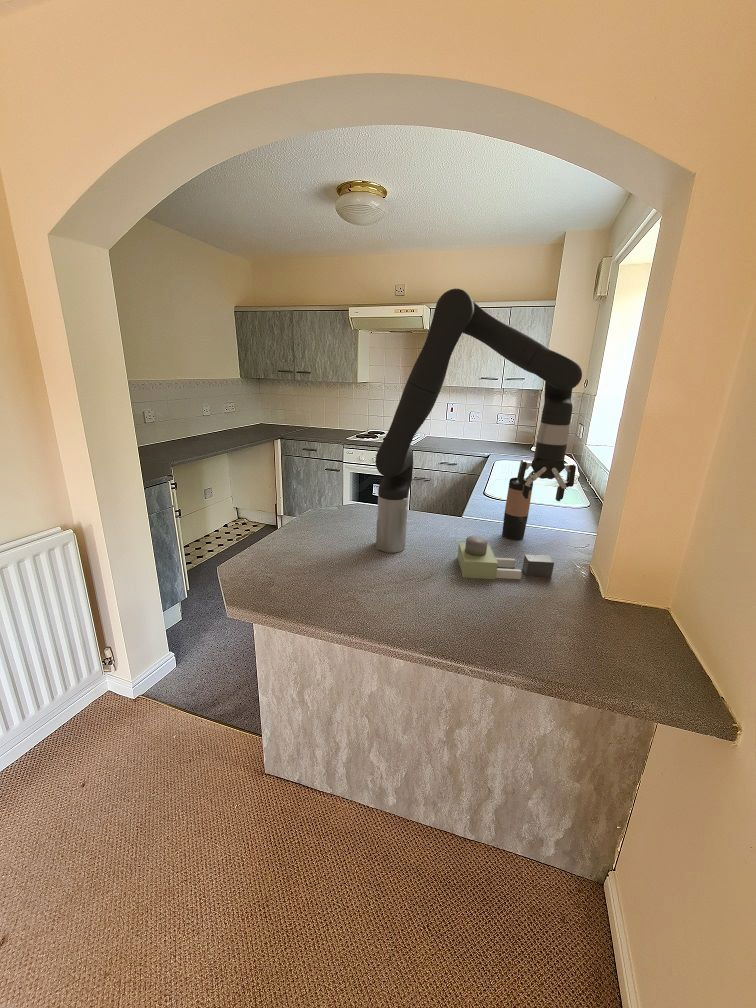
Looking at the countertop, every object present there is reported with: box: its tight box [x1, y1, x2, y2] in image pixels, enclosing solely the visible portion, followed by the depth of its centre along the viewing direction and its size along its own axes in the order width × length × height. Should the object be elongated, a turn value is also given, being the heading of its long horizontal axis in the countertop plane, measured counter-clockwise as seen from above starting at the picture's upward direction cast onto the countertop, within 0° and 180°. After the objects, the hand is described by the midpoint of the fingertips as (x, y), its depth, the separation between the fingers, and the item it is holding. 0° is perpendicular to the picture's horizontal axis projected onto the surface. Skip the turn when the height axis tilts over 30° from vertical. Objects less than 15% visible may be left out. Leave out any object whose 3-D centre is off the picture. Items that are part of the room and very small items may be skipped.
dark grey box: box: [521, 554, 555, 579], centre depth 116 cm, size 7×4×5 cm, turn 87°
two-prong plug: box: [456, 535, 523, 580], centre depth 117 cm, size 16×12×8 cm
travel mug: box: [501, 477, 534, 541], centre depth 138 cm, size 8×8×20 cm
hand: (541, 499), depth 112 cm, fingers open, 8 cm apart
